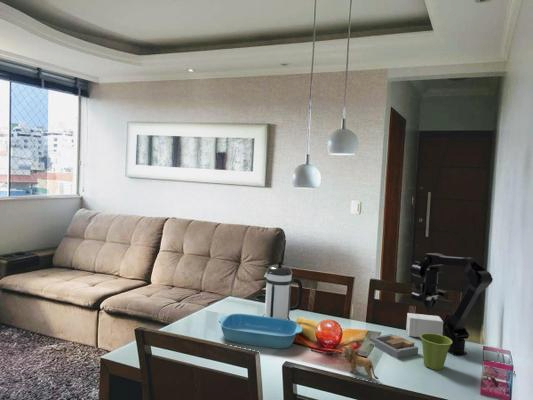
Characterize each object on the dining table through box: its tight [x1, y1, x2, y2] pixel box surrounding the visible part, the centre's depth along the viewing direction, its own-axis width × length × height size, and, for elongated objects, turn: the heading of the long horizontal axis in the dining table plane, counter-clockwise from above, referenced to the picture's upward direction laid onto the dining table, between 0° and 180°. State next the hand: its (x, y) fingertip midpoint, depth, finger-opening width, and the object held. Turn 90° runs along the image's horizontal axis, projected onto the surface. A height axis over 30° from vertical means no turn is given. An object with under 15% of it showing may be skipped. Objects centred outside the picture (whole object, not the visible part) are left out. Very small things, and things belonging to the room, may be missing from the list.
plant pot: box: [419, 333, 452, 371], centre depth 171 cm, size 12×12×11 cm
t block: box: [385, 334, 415, 349], centre depth 186 cm, size 10×10×4 cm
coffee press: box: [262, 260, 303, 320], centre depth 214 cm, size 17×16×30 cm
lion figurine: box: [341, 345, 379, 382], centre depth 160 cm, size 15×5×9 cm, turn 53°
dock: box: [368, 333, 419, 360], centre depth 186 cm, size 17×12×3 cm
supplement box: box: [405, 312, 444, 338], centre depth 205 cm, size 9×9×15 cm
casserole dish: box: [218, 313, 303, 350], centre depth 189 cm, size 37×22×7 cm, turn 80°
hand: (428, 313), depth 200 cm, fingers closed
